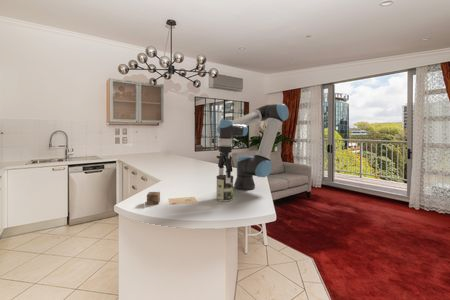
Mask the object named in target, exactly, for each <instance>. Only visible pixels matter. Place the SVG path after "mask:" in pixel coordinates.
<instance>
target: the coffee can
mask: <svg viewBox="0 0 450 300" xmlns="http://www.w3.org/2000/svg"><path fill="white" fill-rule="evenodd" d="M215 199H216V200H217V201H218V202H219V201H220V202H231V201H233V200H234V175H231V182H230V183H226V174H223V175H219V174H217V175H216V197H215Z"/></svg>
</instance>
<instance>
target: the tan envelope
mask: <svg viewBox="0 0 450 300" xmlns="http://www.w3.org/2000/svg"><path fill="white" fill-rule="evenodd" d="M168 203H169V205H170V206H173V205H174V206H175V205H183V204H184V205H185V204H196V203H197V204H199V201H198V200H197V198H196V196H187V197H174V198H168Z"/></svg>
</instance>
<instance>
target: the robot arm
mask: <svg viewBox="0 0 450 300" xmlns="http://www.w3.org/2000/svg"><path fill="white" fill-rule="evenodd" d="M289 112H290V111H289V108H288V106H287V105H286V104H285V103H275V104H274V103H272V104H271V103H270V104H265V105H262V106H260V107H258V108H256V109H254V110H252V111H251V112H249V113H247V114H245V115H243V116H240V117H238V118H236V119H233V120H231V119H221V120H220V121H219V124H218V125H217V127H216V132H217V134H218V135H219V140H218V142H219V147H218V152H219V158H218V164H217V166H218V175H224V168H225V169H226V170H225V175H226V183H230V182H231V176H232V172H233V165H232V155H231V154H230V153H232V152H233V151H232V148H233V147H232V145H233V137H245V136H247V134H248V132H249V129H248V126H251V125H252V124H255V123H260V122H265V121H266V122H267V123H266V126H265V130H264V131H263V135H262V137H261V142H260V144H259V148H258V151H257V153H255V154H254V156H253V155H248V156H247V155H246V156H245V155H244V156H239V157H237V159H236V160H237V161H236V178H235V181H234V183H233V189H236V190H241V191H251V190H255V188H256V185H255V184H256V183H255V180H254V176H255V177H256V178H257V177H258V178H267V176H269V175H270V174H271V172H272V169H273V166H272V165H273V164H272V162H271V158H270V156H271V154H272V150H273V147H274V143H275V140H276V137H277V134H278V132H279V128H280V126H282V125H283V123H284V121H286V120H288V119H289V116H290V113H289Z"/></svg>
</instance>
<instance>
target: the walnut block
mask: <svg viewBox="0 0 450 300" xmlns="http://www.w3.org/2000/svg"><path fill="white" fill-rule="evenodd" d="M160 202H161V191H148V193H147V194H146V205H149V206H150V205H153V206H155V205H159V203H160Z"/></svg>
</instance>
